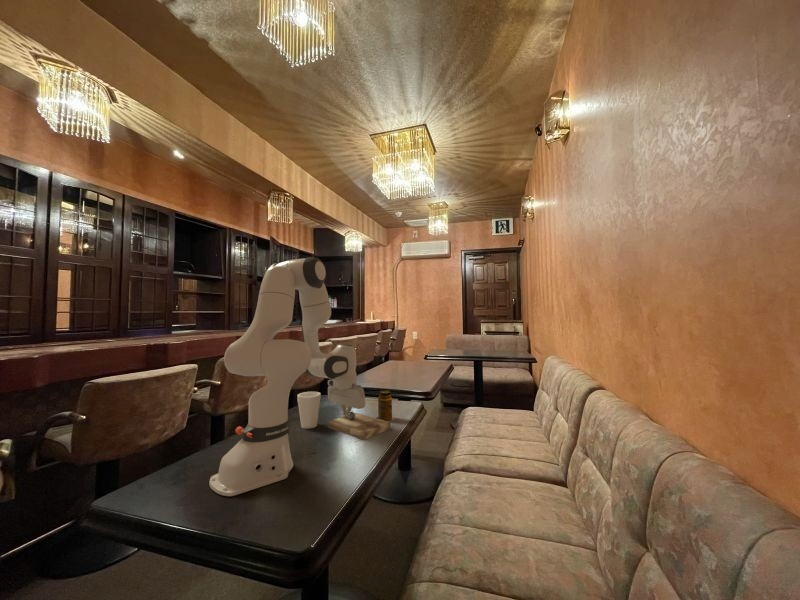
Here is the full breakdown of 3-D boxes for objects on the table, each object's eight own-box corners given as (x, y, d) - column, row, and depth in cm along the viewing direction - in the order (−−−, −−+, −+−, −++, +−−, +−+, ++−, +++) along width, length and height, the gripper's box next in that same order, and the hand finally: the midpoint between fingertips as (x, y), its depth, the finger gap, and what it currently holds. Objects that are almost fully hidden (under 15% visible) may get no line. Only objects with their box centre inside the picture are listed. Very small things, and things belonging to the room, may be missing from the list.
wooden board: (363, 440, 121) (363, 433, 121) (327, 427, 134) (327, 421, 134) (390, 428, 132) (390, 422, 132) (355, 418, 146) (355, 412, 146)
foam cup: (293, 425, 137) (293, 394, 137) (313, 420, 143) (313, 390, 144) (303, 431, 130) (303, 398, 130) (324, 426, 136) (324, 394, 137)
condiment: (396, 419, 144) (395, 391, 144) (381, 424, 138) (381, 395, 138) (385, 415, 149) (384, 389, 149) (370, 420, 143) (370, 392, 144)
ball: (350, 421, 134) (351, 414, 134) (345, 418, 136) (346, 411, 136) (356, 420, 137) (357, 412, 136) (351, 416, 139) (352, 409, 138)
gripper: (368, 384, 134) (369, 418, 134) (336, 378, 148) (336, 409, 147) (357, 387, 130) (357, 422, 129) (325, 380, 143) (325, 412, 142)
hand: (346, 415), depth 138 cm, fingers closed
